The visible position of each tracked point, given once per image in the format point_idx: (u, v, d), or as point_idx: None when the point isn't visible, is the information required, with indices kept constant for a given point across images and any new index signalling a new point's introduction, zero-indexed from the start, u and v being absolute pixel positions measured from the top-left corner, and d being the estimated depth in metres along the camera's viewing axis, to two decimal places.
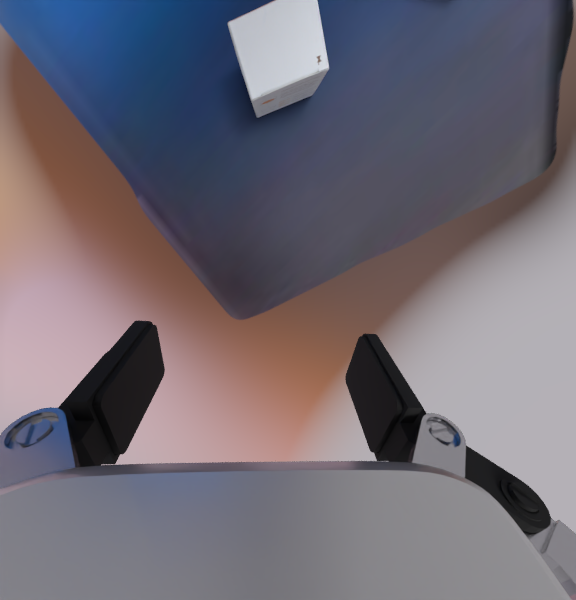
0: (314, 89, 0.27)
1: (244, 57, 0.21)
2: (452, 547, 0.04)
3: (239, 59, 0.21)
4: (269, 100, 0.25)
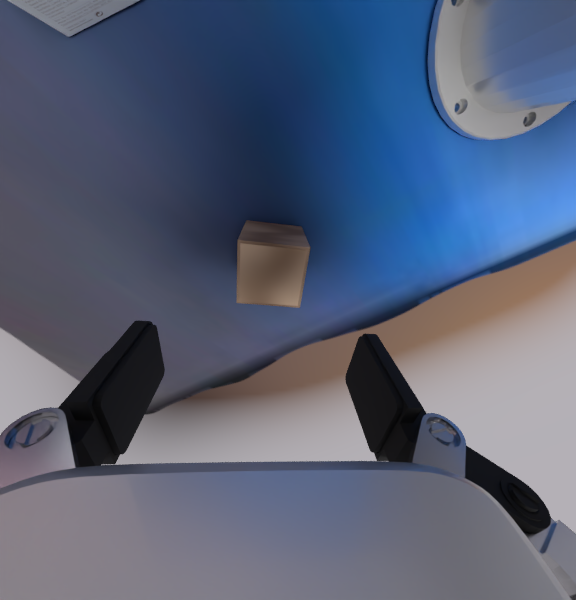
0: None
1: None
2: (452, 547, 0.04)
3: None
4: None
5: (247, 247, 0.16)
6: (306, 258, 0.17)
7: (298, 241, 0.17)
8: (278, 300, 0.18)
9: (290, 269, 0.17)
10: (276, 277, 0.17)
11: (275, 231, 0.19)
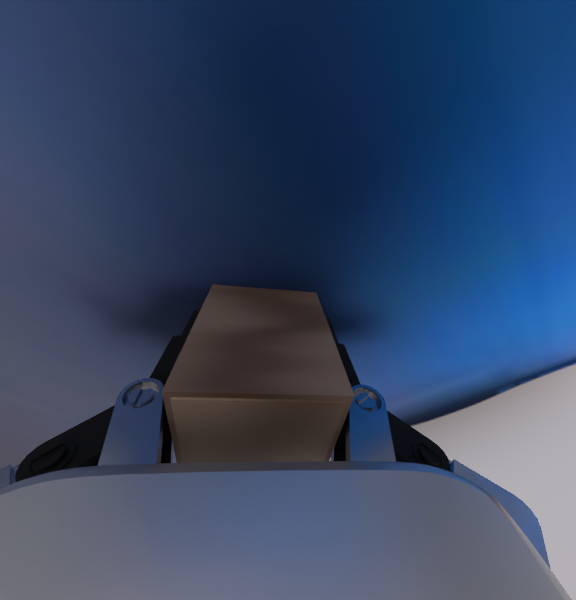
0: None
1: None
2: (452, 547, 0.04)
3: None
4: None
5: (191, 404, 0.06)
6: (342, 415, 0.07)
7: (319, 364, 0.07)
8: None
9: (301, 434, 0.07)
10: (270, 447, 0.07)
11: (267, 321, 0.09)
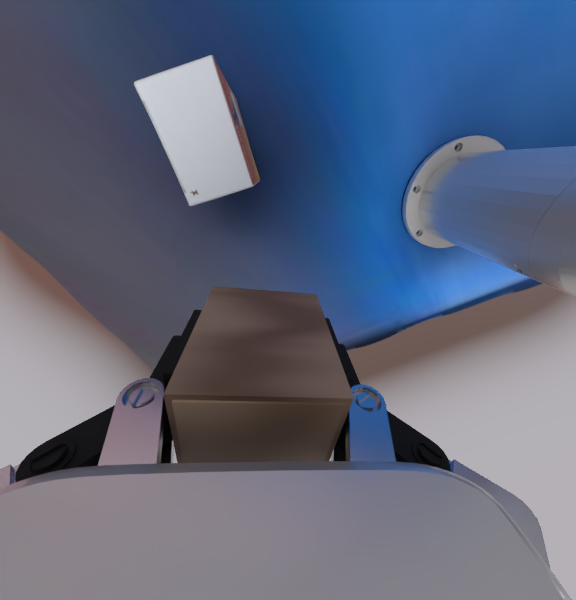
0: None
1: (179, 77, 0.15)
2: (452, 547, 0.04)
3: (176, 68, 0.15)
4: None
5: (192, 406, 0.06)
6: (342, 417, 0.07)
7: (319, 367, 0.07)
8: None
9: (301, 436, 0.07)
10: (270, 448, 0.07)
11: (267, 324, 0.09)
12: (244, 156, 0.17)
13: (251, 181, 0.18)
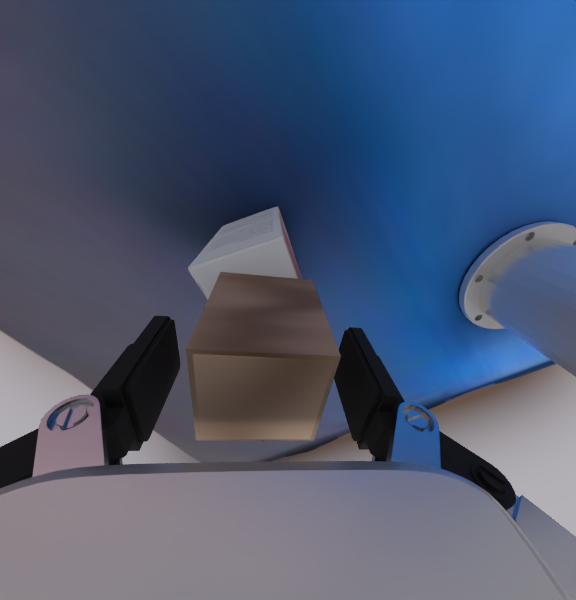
0: None
1: (243, 260, 0.12)
2: (452, 547, 0.04)
3: (240, 251, 0.12)
4: None
5: (209, 360, 0.08)
6: (331, 373, 0.08)
7: (313, 334, 0.09)
8: (274, 434, 0.10)
9: (298, 391, 0.09)
10: (272, 403, 0.09)
11: (269, 302, 0.10)
12: None
13: None
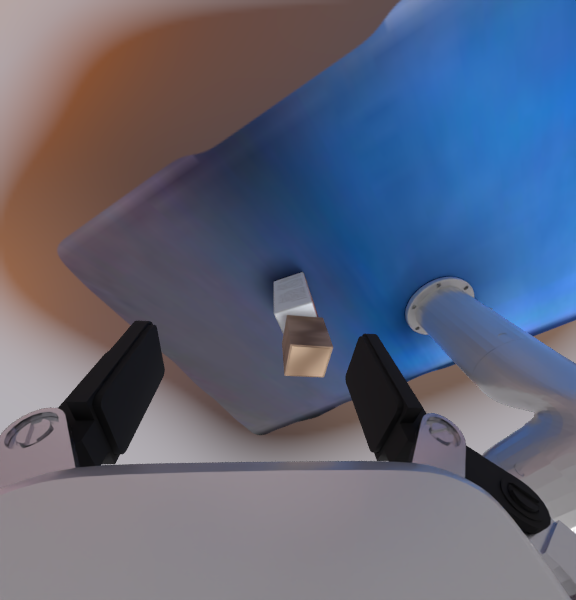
0: None
1: (296, 310, 0.31)
2: (452, 547, 0.04)
3: (295, 307, 0.31)
4: None
5: (295, 347, 0.27)
6: (330, 352, 0.27)
7: (324, 340, 0.28)
8: (310, 374, 0.29)
9: (319, 358, 0.28)
10: (311, 362, 0.28)
11: (308, 328, 0.29)
12: None
13: None
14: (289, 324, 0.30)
